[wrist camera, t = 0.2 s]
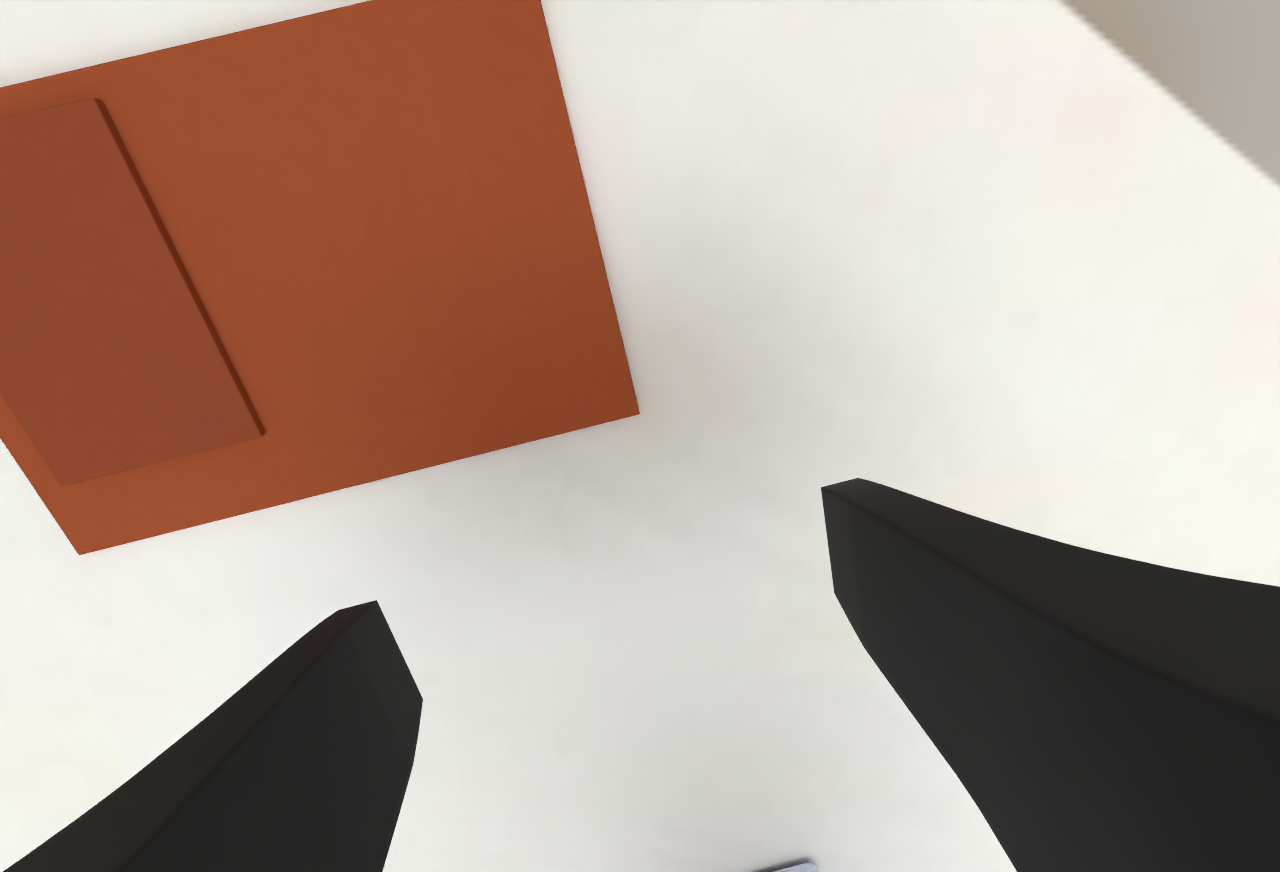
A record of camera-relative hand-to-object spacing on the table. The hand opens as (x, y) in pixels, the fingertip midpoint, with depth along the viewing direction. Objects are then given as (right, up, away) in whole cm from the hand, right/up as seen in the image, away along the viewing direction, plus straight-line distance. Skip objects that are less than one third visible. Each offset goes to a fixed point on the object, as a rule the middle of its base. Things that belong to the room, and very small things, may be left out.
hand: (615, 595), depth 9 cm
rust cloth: (-10, +7, +7) cm, 14 cm away
